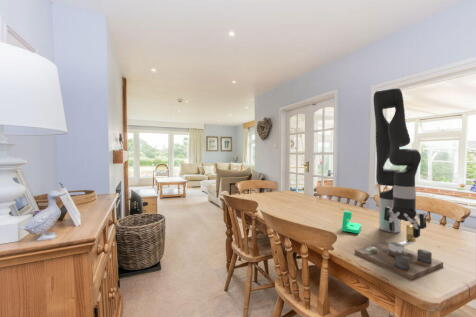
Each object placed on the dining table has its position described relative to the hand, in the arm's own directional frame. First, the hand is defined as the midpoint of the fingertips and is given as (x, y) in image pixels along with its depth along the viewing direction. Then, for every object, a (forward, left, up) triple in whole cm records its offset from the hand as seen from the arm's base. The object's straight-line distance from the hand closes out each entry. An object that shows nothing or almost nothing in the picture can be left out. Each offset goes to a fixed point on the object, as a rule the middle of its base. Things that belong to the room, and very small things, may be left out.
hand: (403, 234), depth 91 cm
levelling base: (+10, +2, -8) cm, 13 cm away
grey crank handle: (+5, +2, -6) cm, 8 cm away
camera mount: (-3, -27, -8) cm, 28 cm away
